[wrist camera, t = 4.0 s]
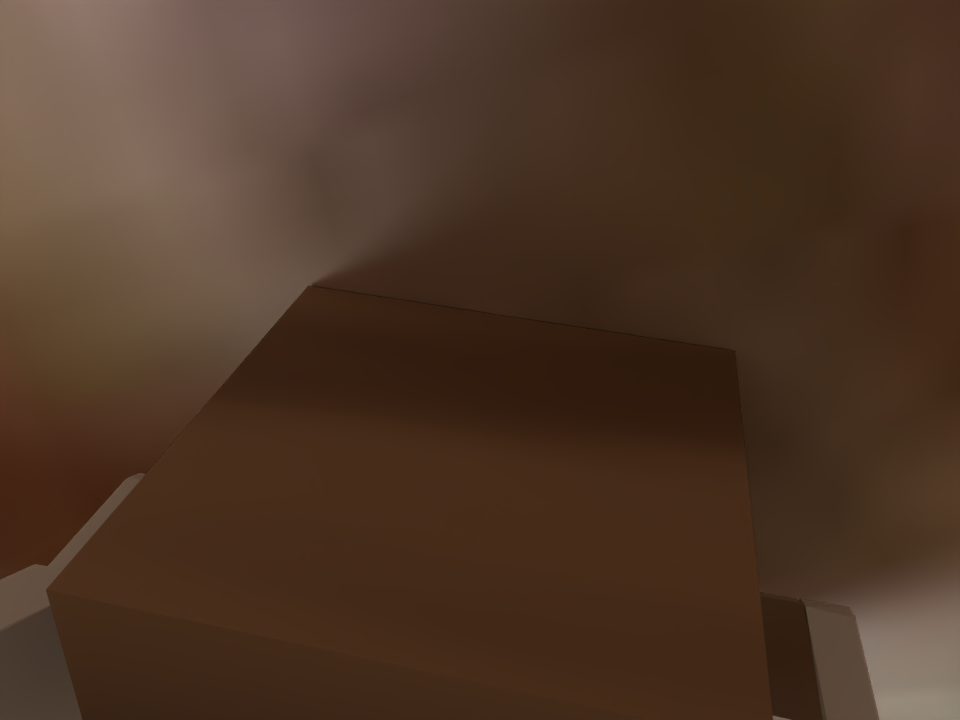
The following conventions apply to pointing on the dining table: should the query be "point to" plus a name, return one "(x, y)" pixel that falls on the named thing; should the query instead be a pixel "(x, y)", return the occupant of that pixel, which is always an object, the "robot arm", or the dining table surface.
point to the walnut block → (433, 533)
